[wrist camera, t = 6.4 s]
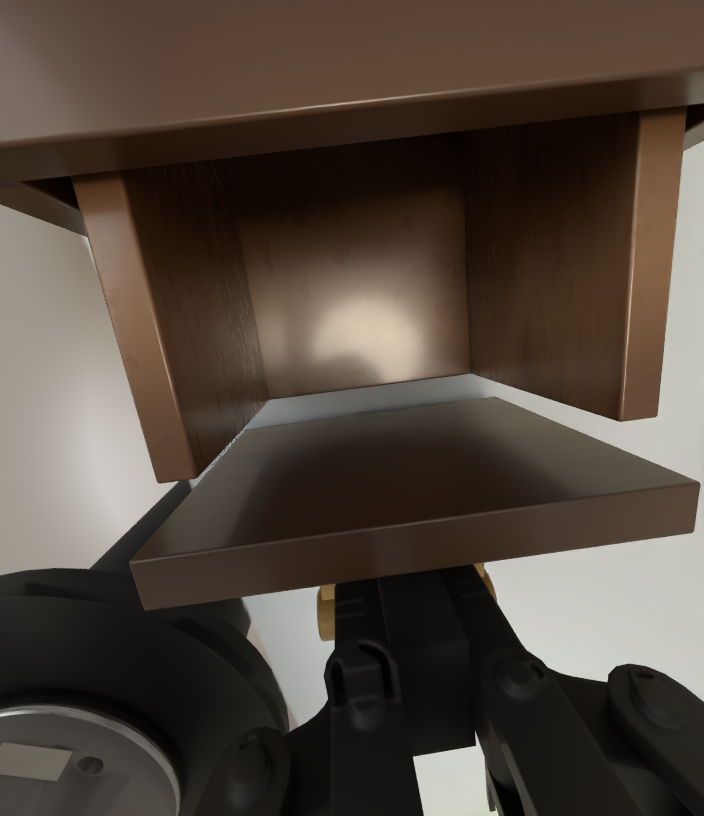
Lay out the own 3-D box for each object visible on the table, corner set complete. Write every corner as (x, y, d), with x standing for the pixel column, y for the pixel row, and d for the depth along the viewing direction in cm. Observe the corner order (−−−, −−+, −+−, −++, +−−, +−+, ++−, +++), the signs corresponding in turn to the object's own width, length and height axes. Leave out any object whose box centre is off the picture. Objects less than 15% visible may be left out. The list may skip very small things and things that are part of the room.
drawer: (498, 520, 17) (669, 721, 8) (270, 552, 17) (202, 792, 8) (489, 106, 13) (817, -367, 4) (185, 140, 12) (-151, -287, 4)
